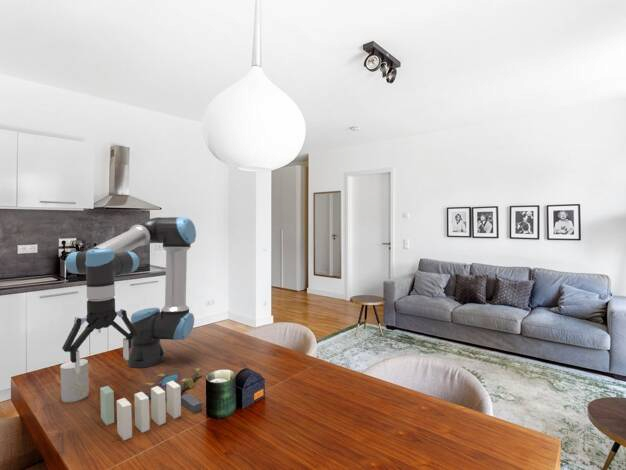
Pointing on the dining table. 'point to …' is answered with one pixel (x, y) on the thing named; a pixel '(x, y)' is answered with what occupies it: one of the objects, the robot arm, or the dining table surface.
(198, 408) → the stop bar
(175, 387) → the domino
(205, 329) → the dining table surface
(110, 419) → the domino
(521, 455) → the dining table surface
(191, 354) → the dining table surface
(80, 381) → the cup
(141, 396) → the domino
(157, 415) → the domino
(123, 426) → the domino
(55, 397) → the dining table surface
